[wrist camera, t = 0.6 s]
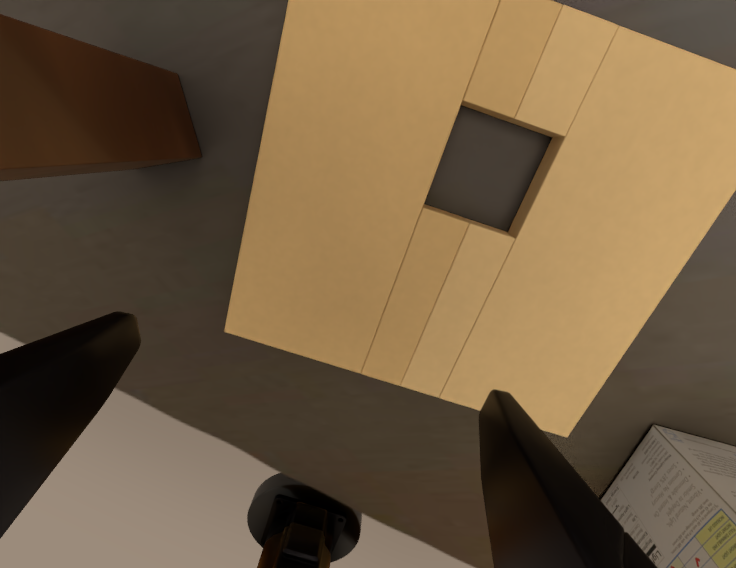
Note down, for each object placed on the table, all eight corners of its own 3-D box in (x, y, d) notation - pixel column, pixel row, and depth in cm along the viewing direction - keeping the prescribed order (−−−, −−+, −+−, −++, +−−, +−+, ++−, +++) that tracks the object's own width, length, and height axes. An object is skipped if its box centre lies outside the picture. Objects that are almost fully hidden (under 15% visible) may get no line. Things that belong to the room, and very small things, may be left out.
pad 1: (399, 372, 23) (399, 386, 22) (233, 320, 23) (223, 332, 21) (549, 16, 16) (563, 3, 15) (313, -72, 16) (306, -93, 14)
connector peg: (202, 157, 19) (-289, 187, 5) (134, 169, 20) (-482, 224, 6) (177, 73, 18) (-566, -180, 4) (105, 87, 18) (-791, -94, 4)
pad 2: (557, 421, 24) (567, 438, 23) (399, 372, 23) (399, 386, 22) (768, 97, 17) (802, 93, 15) (549, 16, 16) (563, 3, 15)
